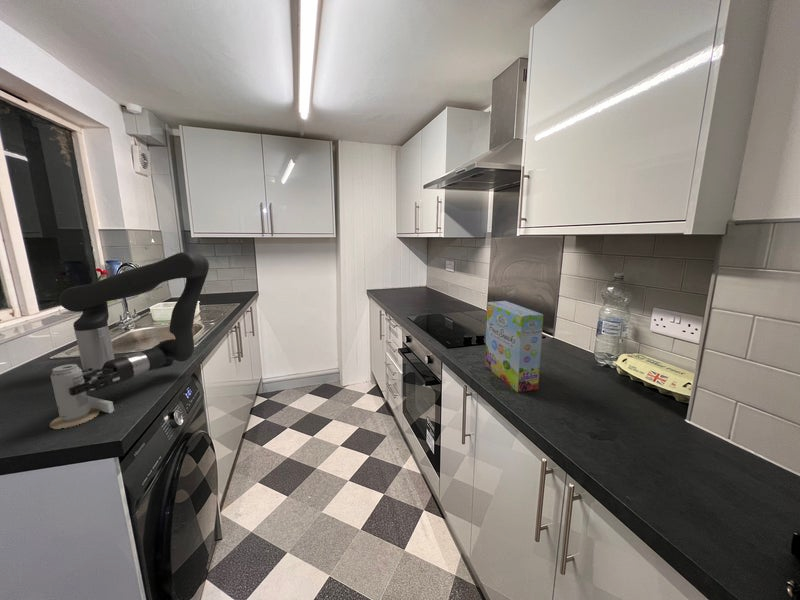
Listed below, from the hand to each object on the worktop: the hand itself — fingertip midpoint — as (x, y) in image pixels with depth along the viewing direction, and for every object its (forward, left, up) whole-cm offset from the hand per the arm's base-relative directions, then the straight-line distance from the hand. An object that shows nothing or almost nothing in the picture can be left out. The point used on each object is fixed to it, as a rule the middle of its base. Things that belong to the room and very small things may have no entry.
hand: (60, 390), depth 87 cm
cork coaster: (0, +2, -9) cm, 10 cm away
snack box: (+116, +66, -10) cm, 134 cm away
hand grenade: (-14, +38, -10) cm, 41 cm away
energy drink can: (0, +2, -9) cm, 9 cm away
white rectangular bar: (-4, +7, -9) cm, 13 cm away
